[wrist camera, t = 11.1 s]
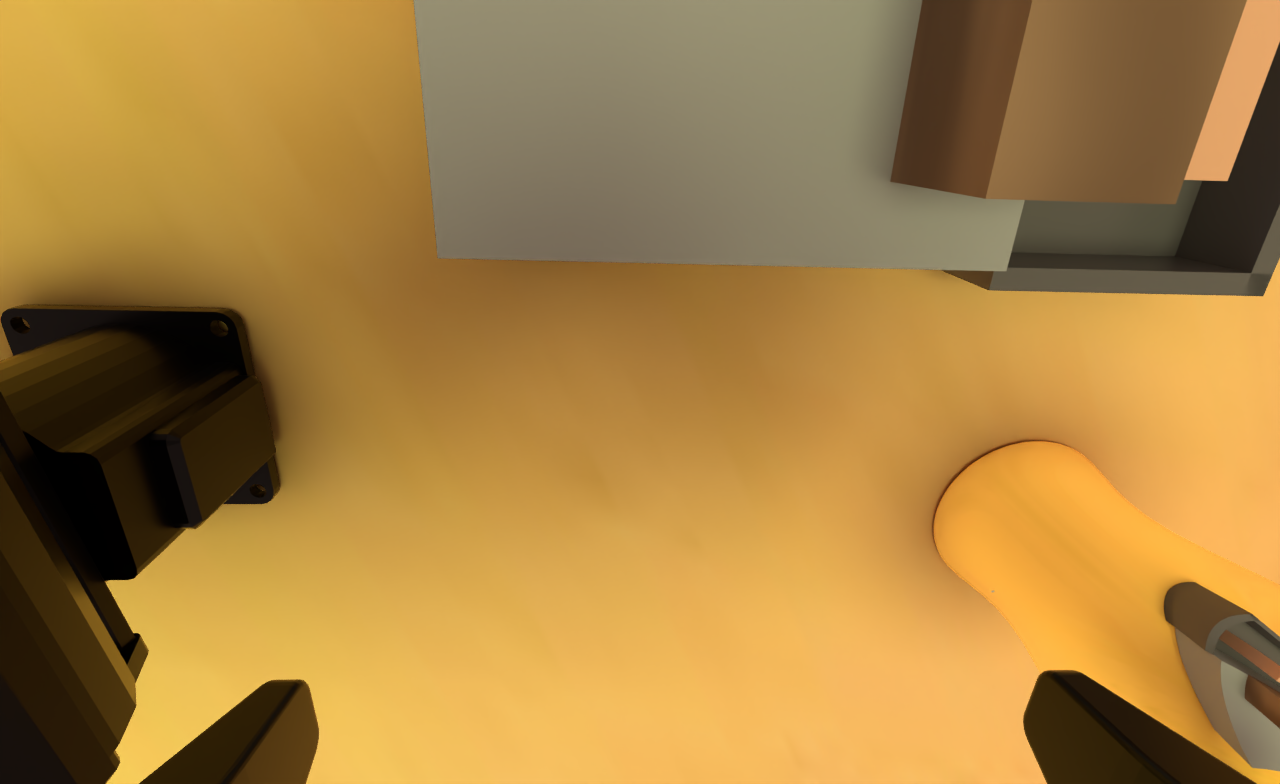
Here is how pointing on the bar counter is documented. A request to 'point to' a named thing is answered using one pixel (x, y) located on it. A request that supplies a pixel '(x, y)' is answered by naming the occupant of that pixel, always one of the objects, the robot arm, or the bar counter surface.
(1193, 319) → the bar counter surface
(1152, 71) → the brown wooden plank
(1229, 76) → the tile
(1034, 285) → the tray
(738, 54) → the board
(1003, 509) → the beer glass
